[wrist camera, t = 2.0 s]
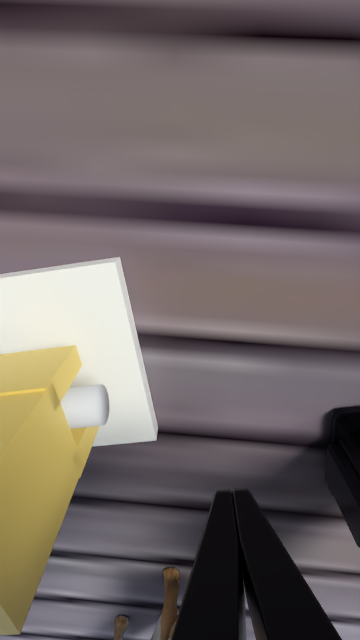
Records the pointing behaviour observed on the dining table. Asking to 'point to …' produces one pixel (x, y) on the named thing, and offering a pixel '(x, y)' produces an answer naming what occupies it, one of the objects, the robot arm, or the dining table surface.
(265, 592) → the robot arm
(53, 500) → the yellow pegged block
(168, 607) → the lion figurine
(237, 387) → the dining table surface
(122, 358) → the cord rail
